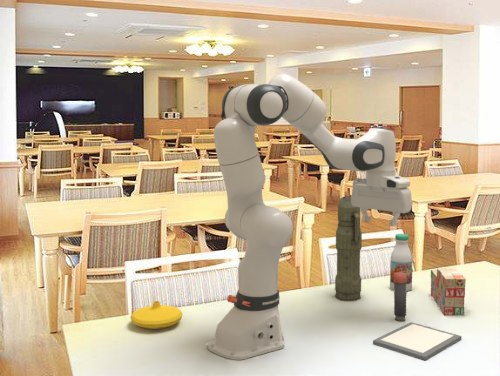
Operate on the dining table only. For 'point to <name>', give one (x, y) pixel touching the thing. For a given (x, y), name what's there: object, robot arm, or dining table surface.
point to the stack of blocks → (448, 290)
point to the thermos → (348, 251)
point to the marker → (400, 295)
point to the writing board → (417, 340)
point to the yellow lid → (156, 316)
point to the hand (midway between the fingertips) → (379, 223)
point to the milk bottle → (401, 260)
